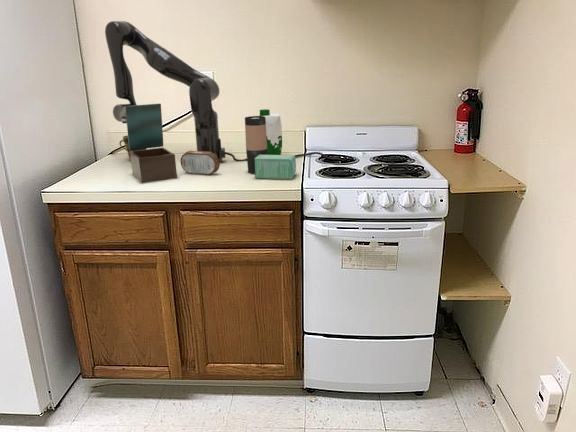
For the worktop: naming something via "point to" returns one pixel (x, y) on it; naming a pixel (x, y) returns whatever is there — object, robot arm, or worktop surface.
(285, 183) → the worktop surface
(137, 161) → the chest
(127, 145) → the ceramic cup
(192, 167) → the tin
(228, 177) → the worktop surface
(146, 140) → the lid
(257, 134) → the travel mug
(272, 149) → the milk carton
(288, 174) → the box
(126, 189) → the worktop surface
